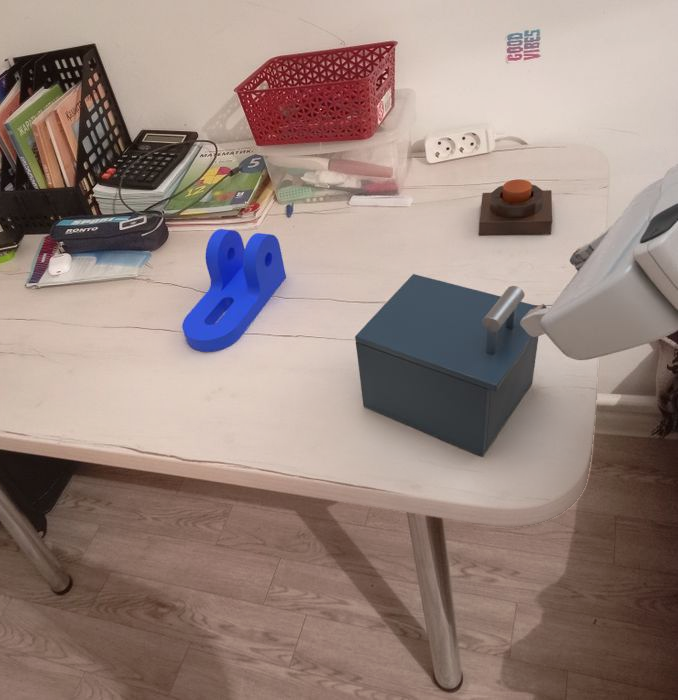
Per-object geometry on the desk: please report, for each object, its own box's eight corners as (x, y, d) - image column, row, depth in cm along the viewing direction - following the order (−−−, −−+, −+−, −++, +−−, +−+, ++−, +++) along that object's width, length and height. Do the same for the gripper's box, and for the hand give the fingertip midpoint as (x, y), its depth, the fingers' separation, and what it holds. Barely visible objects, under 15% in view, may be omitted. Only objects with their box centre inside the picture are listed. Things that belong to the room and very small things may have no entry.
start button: (530, 189, 87) (532, 178, 86) (530, 203, 84) (531, 191, 83) (502, 191, 88) (503, 179, 87) (501, 204, 86) (502, 193, 85)
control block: (549, 203, 89) (552, 178, 87) (550, 234, 84) (553, 208, 82) (481, 205, 93) (483, 181, 90) (478, 235, 88) (479, 210, 85)
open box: (532, 383, 66) (541, 313, 60) (482, 457, 61) (486, 389, 55) (415, 344, 75) (413, 279, 69) (363, 406, 70) (355, 342, 63)
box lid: (550, 315, 60) (556, 271, 56) (496, 392, 54) (499, 348, 51) (413, 279, 69) (411, 239, 65) (355, 342, 63) (350, 302, 60)
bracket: (238, 270, 96) (225, 219, 90) (286, 277, 92) (275, 224, 86) (175, 344, 86) (156, 293, 80) (224, 357, 82) (208, 304, 76)
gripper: (750, 105, 44) (580, 203, 56) (645, 258, 35) (470, 334, 47) (808, 172, 44) (625, 255, 56) (719, 342, 35) (524, 396, 47)
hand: (553, 292), depth 52 cm, fingers open, 8 cm apart
